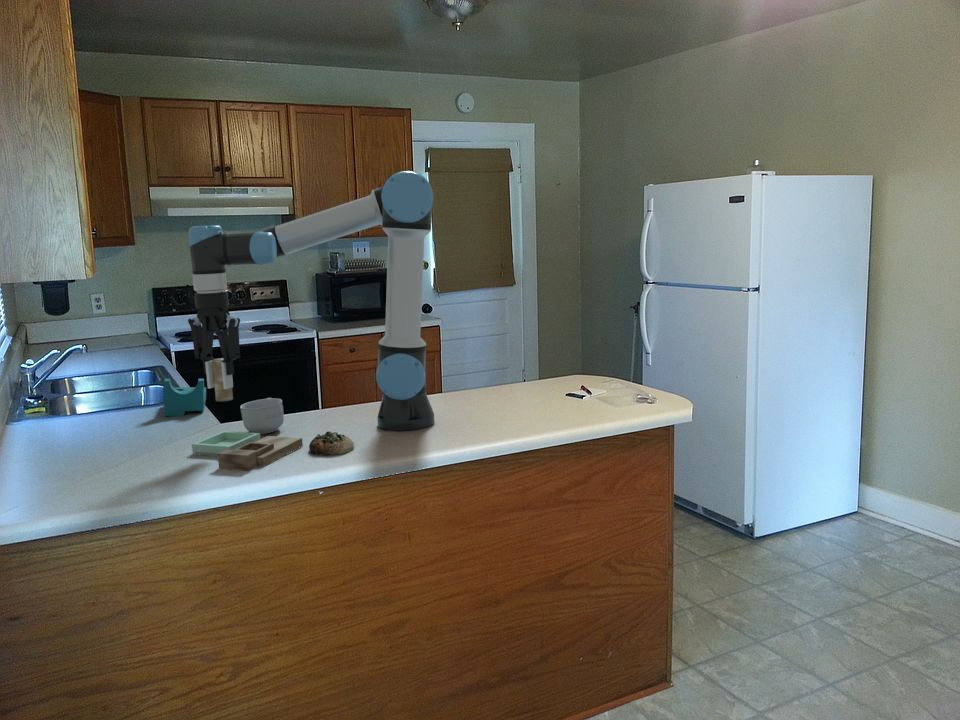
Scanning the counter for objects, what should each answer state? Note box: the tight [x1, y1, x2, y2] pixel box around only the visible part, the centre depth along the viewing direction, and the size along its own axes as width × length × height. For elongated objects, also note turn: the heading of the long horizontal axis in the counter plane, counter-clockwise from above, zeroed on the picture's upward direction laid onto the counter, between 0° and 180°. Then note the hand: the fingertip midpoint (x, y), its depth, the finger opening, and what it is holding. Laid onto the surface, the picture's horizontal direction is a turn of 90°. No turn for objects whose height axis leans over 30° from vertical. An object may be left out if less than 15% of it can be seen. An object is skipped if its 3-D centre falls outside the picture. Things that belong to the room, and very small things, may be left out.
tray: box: [191, 430, 262, 457], centre depth 189 cm, size 11×12×2 cm
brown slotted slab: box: [234, 435, 304, 467], centre depth 183 cm, size 10×16×4 cm, turn 160°
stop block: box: [217, 450, 258, 472], centre depth 173 cm, size 8×3×4 cm, turn 70°
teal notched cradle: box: [163, 378, 207, 417], centre depth 234 cm, size 18×11×10 cm, turn 17°
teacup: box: [239, 397, 285, 435], centre depth 204 cm, size 14×11×8 cm
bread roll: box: [308, 431, 355, 456], centre depth 185 cm, size 11×11×5 cm
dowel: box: [212, 357, 234, 402], centre depth 187 cm, size 4×4×10 cm
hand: (220, 387), depth 187 cm, fingers closed on dowel, 4 cm apart
